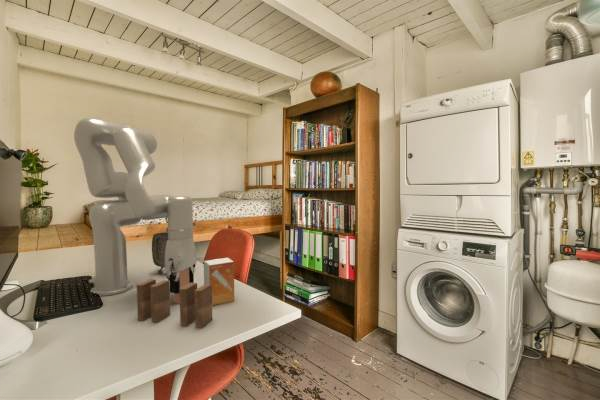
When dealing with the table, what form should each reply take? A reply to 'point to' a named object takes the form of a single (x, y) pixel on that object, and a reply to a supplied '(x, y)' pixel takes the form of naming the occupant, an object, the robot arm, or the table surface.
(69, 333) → the table surface
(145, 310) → the domino
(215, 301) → the small box
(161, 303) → the domino
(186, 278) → the domino
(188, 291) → the domino
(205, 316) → the domino
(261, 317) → the table surface
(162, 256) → the tabletop clock
